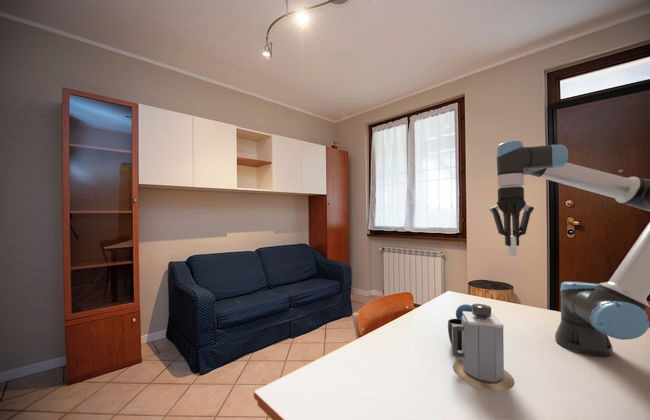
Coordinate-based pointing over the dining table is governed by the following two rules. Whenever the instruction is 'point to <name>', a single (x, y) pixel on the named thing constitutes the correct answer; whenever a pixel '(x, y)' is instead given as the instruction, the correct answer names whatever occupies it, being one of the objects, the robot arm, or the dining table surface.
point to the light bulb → (463, 308)
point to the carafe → (480, 347)
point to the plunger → (481, 311)
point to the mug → (459, 332)
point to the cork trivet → (503, 385)
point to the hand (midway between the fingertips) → (512, 255)
